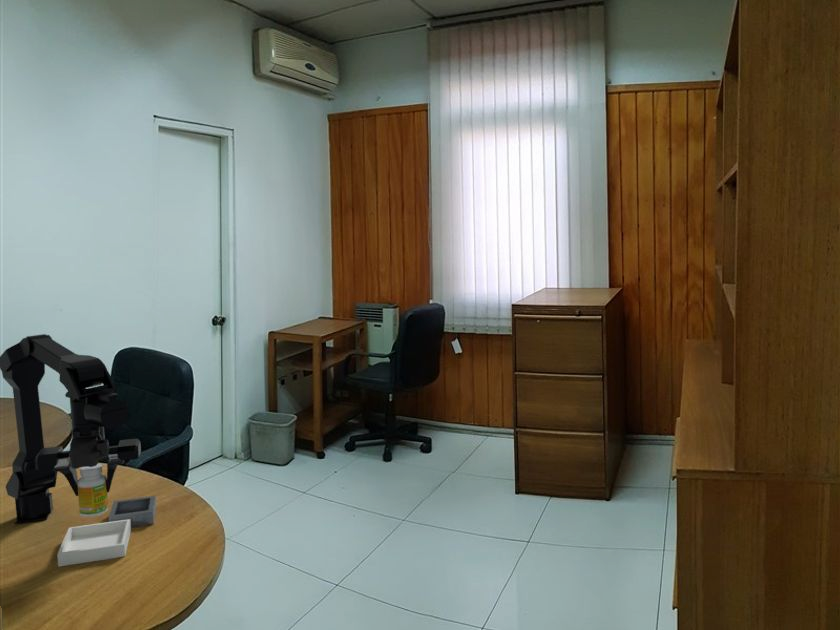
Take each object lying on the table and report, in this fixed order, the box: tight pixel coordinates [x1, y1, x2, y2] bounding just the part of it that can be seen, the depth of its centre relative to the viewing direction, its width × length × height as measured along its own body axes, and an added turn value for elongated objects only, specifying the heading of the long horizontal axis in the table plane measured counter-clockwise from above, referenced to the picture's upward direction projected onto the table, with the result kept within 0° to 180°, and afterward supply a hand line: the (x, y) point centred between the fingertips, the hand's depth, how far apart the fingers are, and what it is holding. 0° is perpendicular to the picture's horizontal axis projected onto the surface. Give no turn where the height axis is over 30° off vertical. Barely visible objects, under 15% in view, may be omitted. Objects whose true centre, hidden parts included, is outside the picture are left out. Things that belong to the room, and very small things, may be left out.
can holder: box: [108, 495, 157, 528], centre depth 145 cm, size 9×9×3 cm
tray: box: [56, 519, 132, 568], centre depth 132 cm, size 12×12×3 cm
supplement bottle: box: [77, 463, 109, 518], centre depth 131 cm, size 5×5×10 cm
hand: (93, 493), depth 131 cm, fingers closed on supplement bottle, 5 cm apart
